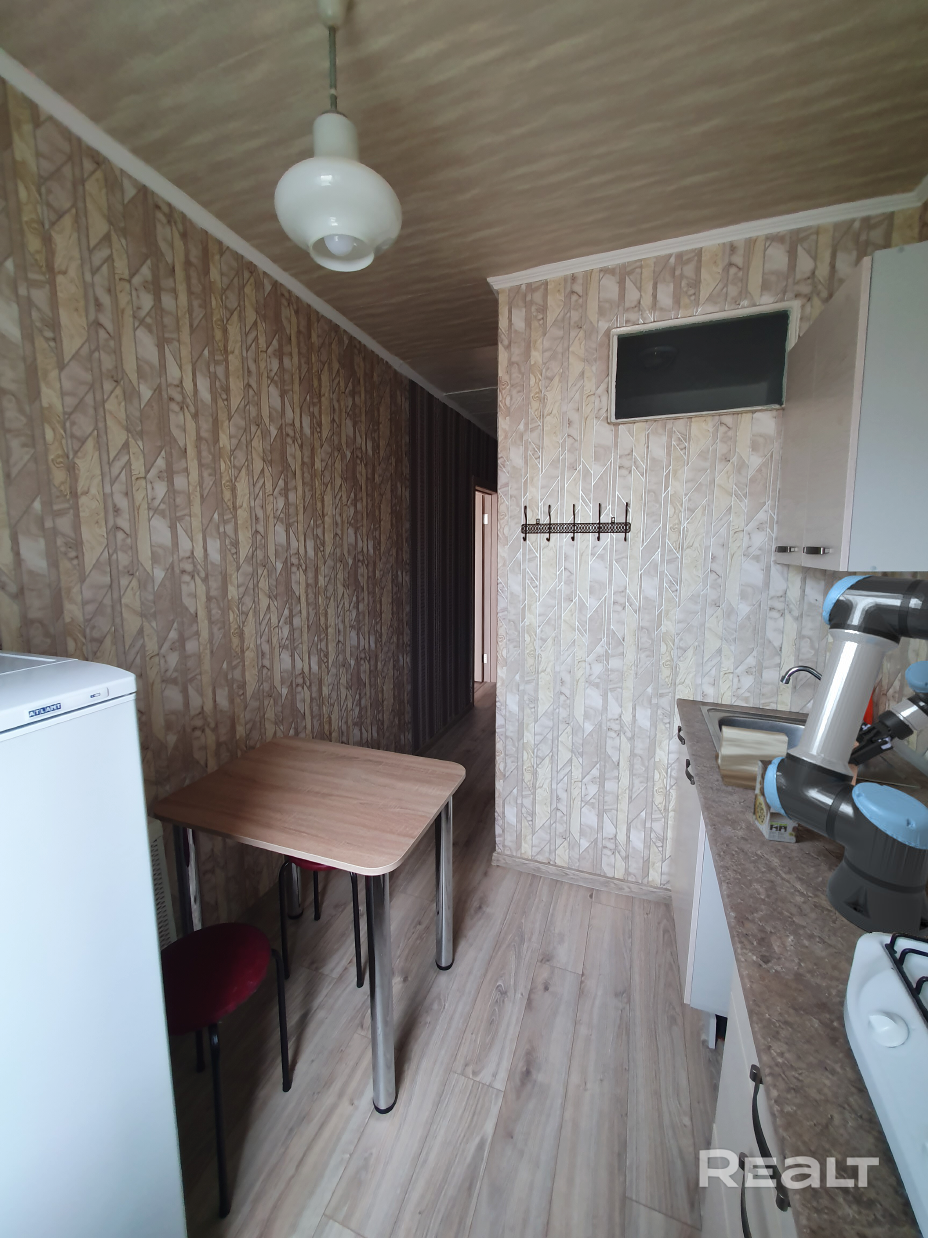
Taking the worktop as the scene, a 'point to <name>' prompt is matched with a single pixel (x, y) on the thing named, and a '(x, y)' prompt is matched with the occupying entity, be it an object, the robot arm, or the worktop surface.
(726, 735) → the beige and brown block
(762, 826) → the coffee box
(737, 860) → the worktop surface
